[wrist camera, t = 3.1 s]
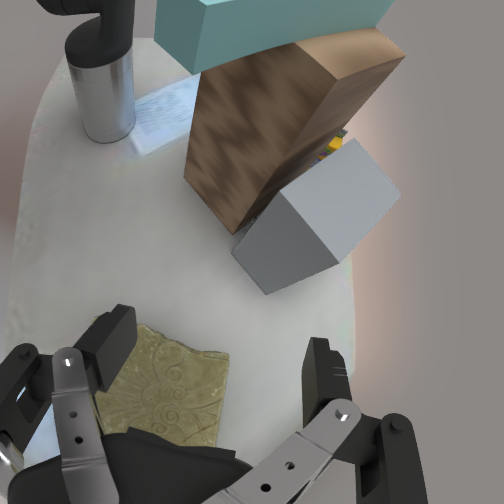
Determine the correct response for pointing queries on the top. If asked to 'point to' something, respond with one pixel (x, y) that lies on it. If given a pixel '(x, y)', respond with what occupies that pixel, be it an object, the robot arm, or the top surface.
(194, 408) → the decorative tile
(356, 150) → the step
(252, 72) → the post
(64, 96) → the top surface
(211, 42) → the block
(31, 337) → the top surface
